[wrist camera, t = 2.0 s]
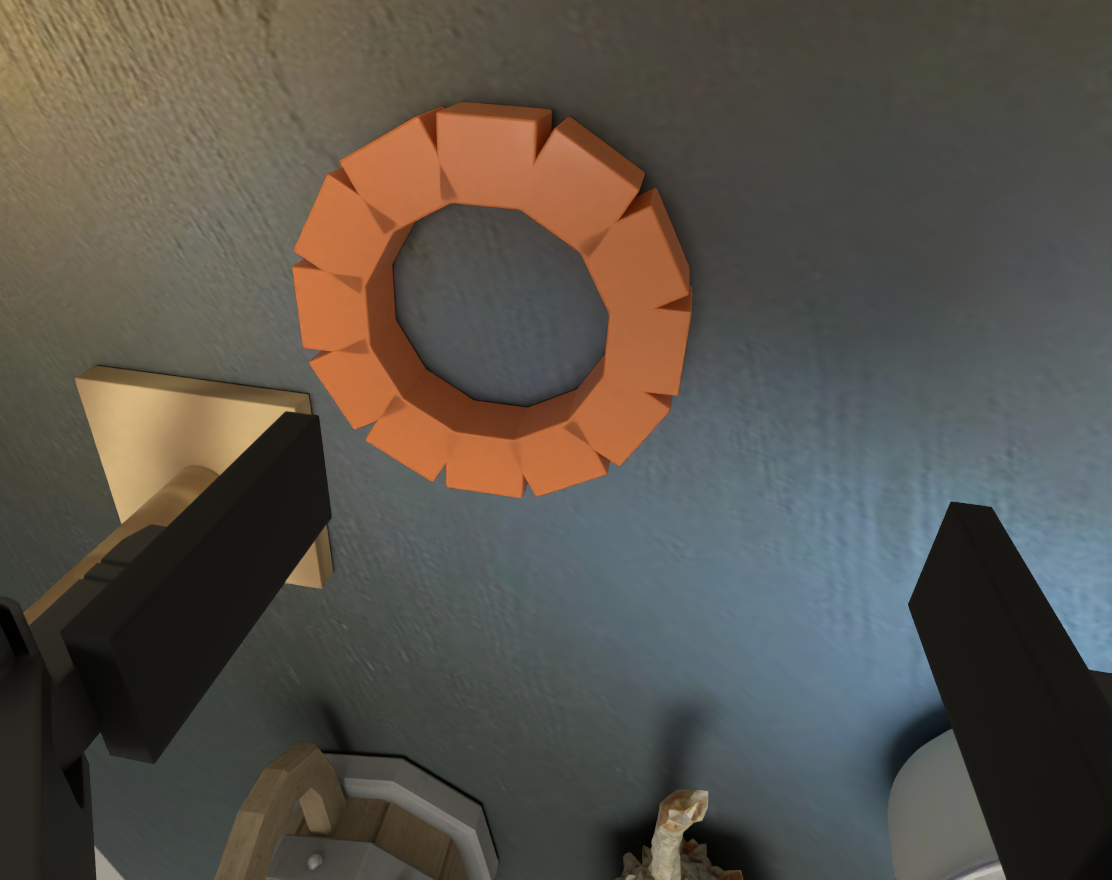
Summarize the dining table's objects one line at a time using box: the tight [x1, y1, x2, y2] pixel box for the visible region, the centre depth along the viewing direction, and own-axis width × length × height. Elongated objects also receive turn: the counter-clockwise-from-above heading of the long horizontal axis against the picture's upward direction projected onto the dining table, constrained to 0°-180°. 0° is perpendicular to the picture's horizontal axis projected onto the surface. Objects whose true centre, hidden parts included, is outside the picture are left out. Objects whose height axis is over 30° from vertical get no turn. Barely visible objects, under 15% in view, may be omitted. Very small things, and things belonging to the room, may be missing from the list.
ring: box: [292, 102, 692, 498], centre depth 24 cm, size 12×12×2 cm
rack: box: [23, 366, 333, 625], centre depth 26 cm, size 9×9×12 cm
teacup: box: [887, 729, 1006, 880], centre depth 28 cm, size 14×11×8 cm
